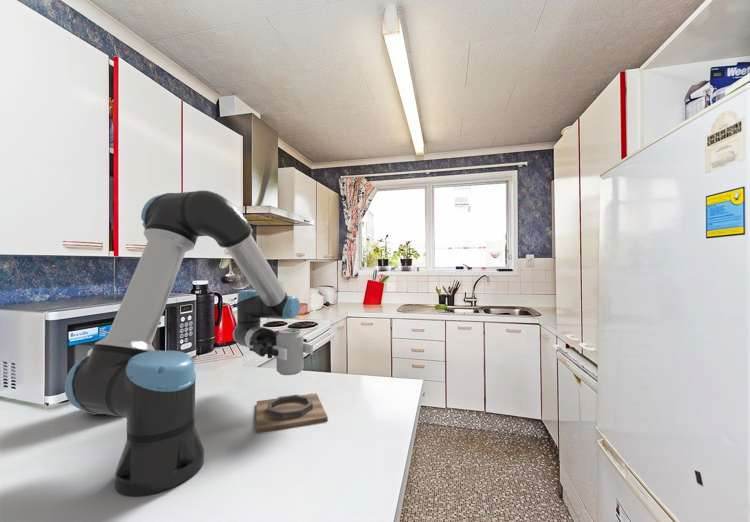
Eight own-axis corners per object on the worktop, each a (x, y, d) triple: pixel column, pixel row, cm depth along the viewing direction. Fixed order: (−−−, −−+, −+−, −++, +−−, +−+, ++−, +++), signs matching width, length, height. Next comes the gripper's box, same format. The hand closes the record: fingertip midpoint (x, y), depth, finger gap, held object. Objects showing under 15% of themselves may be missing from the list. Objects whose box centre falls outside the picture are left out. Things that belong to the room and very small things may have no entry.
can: (308, 371, 94) (308, 329, 95) (285, 378, 89) (285, 333, 89) (294, 366, 100) (293, 326, 100) (271, 372, 94) (271, 330, 94)
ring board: (327, 420, 89) (327, 411, 89) (256, 432, 83) (256, 422, 83) (316, 396, 106) (316, 388, 106) (256, 404, 100) (256, 396, 100)
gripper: (289, 345, 114) (329, 358, 98) (229, 357, 100) (264, 374, 84) (289, 324, 114) (329, 333, 98) (229, 332, 100) (264, 344, 84)
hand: (299, 352), depth 91 cm, fingers closed on can, 7 cm apart
